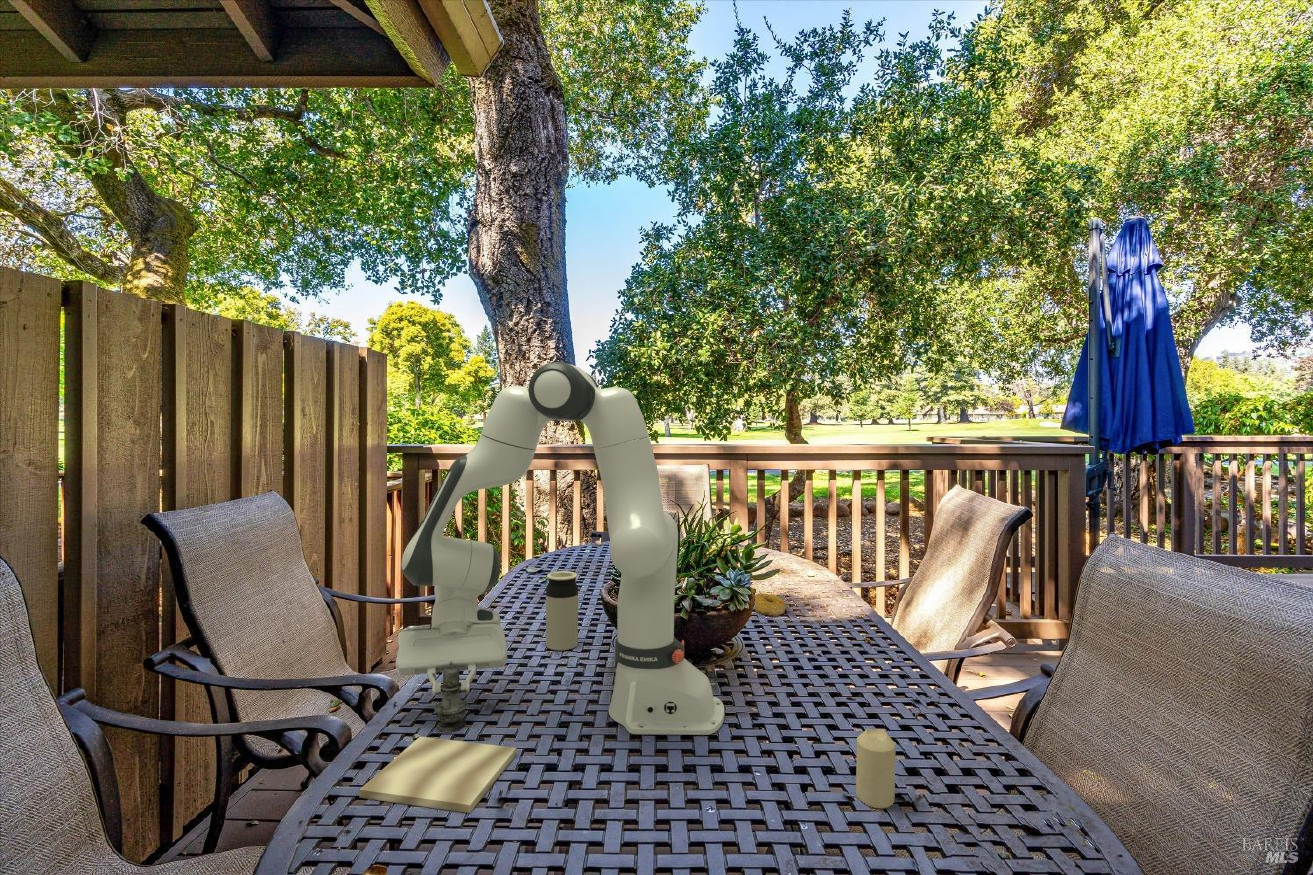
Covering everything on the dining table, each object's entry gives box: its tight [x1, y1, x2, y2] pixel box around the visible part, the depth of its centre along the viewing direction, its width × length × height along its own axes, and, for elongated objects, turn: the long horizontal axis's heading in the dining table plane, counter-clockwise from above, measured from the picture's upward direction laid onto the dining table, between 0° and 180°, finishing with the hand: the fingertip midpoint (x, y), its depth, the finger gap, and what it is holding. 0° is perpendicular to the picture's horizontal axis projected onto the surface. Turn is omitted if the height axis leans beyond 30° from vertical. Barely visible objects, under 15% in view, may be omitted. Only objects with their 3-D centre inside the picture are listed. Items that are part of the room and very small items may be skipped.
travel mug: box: [545, 570, 579, 652], centre depth 156 cm, size 8×8×18 cm
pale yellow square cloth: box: [358, 736, 517, 814], centre depth 99 cm, size 18×16×1 cm
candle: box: [855, 728, 896, 809], centre depth 94 cm, size 6×6×10 cm
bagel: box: [754, 593, 787, 617], centre depth 186 cm, size 10×11×5 cm
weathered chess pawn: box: [434, 661, 469, 733], centre depth 115 cm, size 6×6×12 cm
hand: (450, 692), depth 115 cm, fingers closed on weathered chess pawn, 4 cm apart
